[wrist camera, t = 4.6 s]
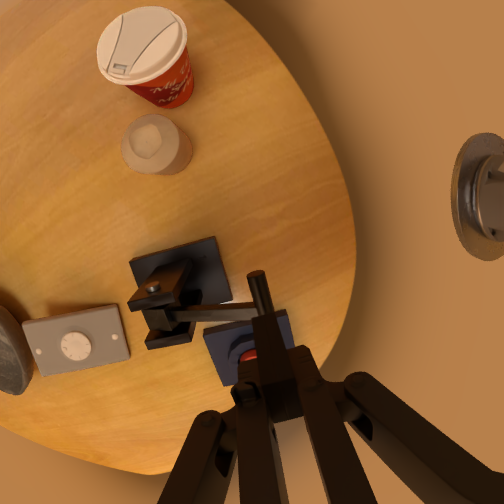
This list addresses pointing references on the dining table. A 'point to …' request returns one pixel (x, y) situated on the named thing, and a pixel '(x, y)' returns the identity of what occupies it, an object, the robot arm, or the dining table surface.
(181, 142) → the candle
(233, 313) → the switch lever
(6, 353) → the bowl
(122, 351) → the light switch
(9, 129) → the dining table surface
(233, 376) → the control block
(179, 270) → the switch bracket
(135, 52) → the paper cup
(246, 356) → the power button
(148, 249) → the dining table surface
